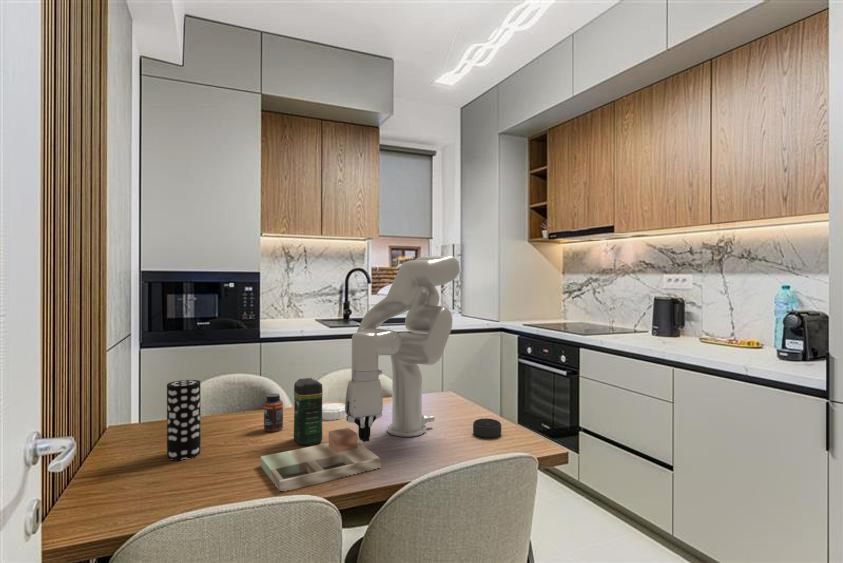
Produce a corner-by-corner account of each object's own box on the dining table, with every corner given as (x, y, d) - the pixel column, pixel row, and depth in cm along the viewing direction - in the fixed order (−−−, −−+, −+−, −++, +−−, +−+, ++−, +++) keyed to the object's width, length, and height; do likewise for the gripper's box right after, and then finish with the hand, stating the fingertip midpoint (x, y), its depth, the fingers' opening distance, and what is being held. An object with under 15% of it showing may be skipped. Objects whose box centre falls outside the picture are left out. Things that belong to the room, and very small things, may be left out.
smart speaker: (474, 439, 145) (475, 426, 145) (471, 430, 154) (471, 417, 154) (503, 439, 145) (503, 426, 145) (498, 430, 154) (498, 417, 154)
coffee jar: (325, 443, 140) (325, 381, 140) (298, 448, 137) (299, 384, 136) (316, 434, 149) (316, 375, 149) (291, 437, 145) (291, 377, 145)
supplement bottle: (286, 427, 156) (286, 392, 156) (278, 432, 150) (278, 397, 150) (268, 426, 156) (268, 392, 156) (260, 432, 150) (260, 396, 150)
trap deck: (352, 447, 138) (352, 438, 138) (380, 468, 122) (380, 458, 122) (260, 465, 124) (260, 456, 123) (280, 492, 108) (280, 481, 108)
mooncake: (308, 419, 165) (308, 409, 165) (323, 410, 176) (323, 400, 176) (340, 422, 162) (341, 411, 162) (353, 412, 174) (353, 402, 174)
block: (348, 441, 135) (348, 427, 135) (357, 448, 130) (357, 433, 130) (328, 445, 132) (328, 431, 131) (336, 452, 126) (337, 437, 126)
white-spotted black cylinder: (166, 463, 125) (166, 387, 125) (167, 452, 133) (167, 381, 132) (201, 457, 129) (201, 384, 129) (199, 447, 136) (199, 378, 136)
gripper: (381, 370, 141) (381, 432, 141) (335, 376, 133) (334, 441, 133) (394, 375, 135) (393, 439, 135) (345, 380, 127) (345, 449, 127)
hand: (364, 440), depth 134 cm, fingers closed
